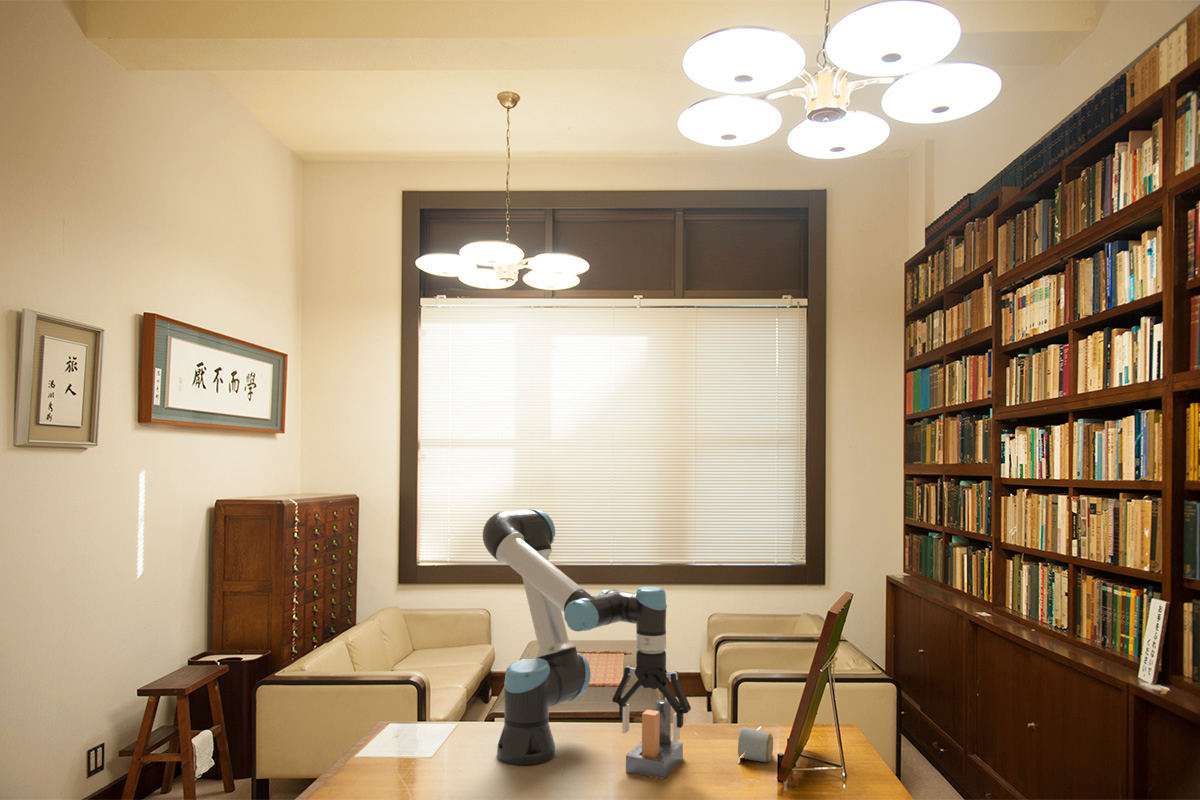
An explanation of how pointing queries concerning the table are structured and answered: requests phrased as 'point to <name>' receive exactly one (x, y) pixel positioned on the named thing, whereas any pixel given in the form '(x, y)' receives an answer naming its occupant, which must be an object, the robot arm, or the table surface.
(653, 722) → the salmon orange square bar
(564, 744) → the table surface
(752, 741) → the grey rounded box
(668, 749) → the grey socket base
